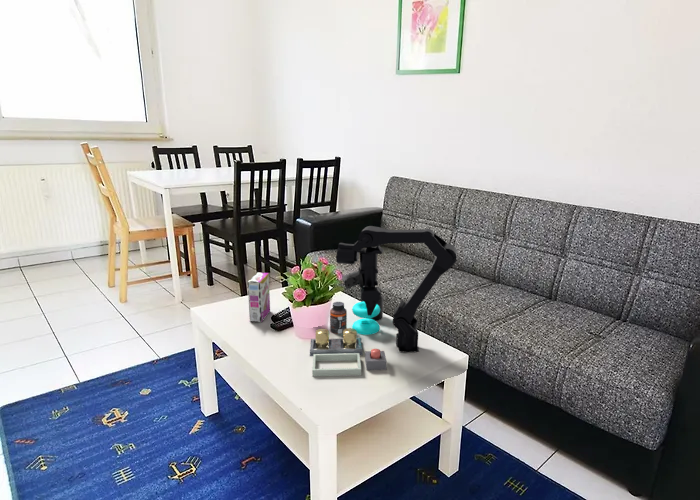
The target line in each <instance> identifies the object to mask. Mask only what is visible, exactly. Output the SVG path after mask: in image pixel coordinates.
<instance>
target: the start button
mask: <svg viewBox="0 0 700 500" xmlns="http://www.w3.org/2000/svg"><path fill="white" fill-rule="evenodd" d="M370 351H371V359H380V351H381V350H380V349H379V348H371V350H370Z"/></svg>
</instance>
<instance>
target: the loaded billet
mask: <svg viewBox="0 0 700 500" xmlns="http://www.w3.org/2000/svg"><path fill="white" fill-rule="evenodd" d="M315 339H316V349H329V339H330V330H328V329H327V328H318V329H316V330H315Z"/></svg>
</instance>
